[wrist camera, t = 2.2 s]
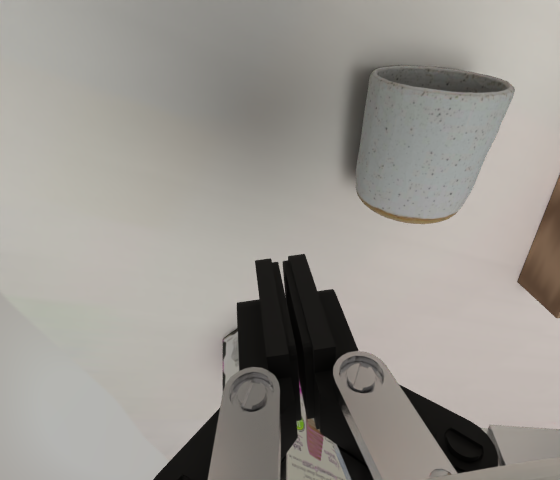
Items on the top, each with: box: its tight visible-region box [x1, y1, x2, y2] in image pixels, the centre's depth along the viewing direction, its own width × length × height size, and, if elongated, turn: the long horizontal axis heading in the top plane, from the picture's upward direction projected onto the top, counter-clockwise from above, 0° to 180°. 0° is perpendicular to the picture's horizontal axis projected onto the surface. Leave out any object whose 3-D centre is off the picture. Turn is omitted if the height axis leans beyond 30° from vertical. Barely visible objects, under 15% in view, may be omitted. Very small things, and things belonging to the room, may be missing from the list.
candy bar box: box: [223, 329, 346, 480], centre depth 29 cm, size 11×5×16 cm, turn 40°
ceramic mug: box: [356, 65, 515, 224], centre depth 22 cm, size 11×8×8 cm
